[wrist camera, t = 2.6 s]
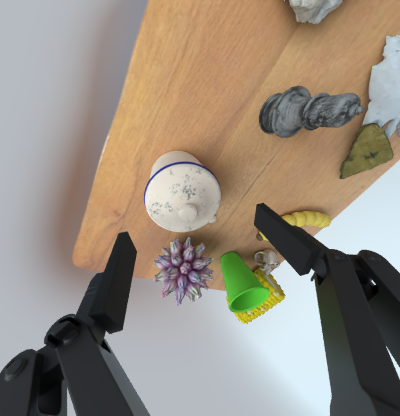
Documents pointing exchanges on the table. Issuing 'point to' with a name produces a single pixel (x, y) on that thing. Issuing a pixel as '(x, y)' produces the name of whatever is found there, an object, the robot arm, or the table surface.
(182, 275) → the flower
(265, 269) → the ornament
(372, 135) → the stone
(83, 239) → the table surface
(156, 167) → the teacup with lid
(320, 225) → the yellow segmented curved bar
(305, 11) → the grey ridged fossil rock
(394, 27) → the table surface
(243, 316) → the food
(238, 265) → the cup
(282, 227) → the robot arm
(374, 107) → the decorative object
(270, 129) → the grey carved upright piece
